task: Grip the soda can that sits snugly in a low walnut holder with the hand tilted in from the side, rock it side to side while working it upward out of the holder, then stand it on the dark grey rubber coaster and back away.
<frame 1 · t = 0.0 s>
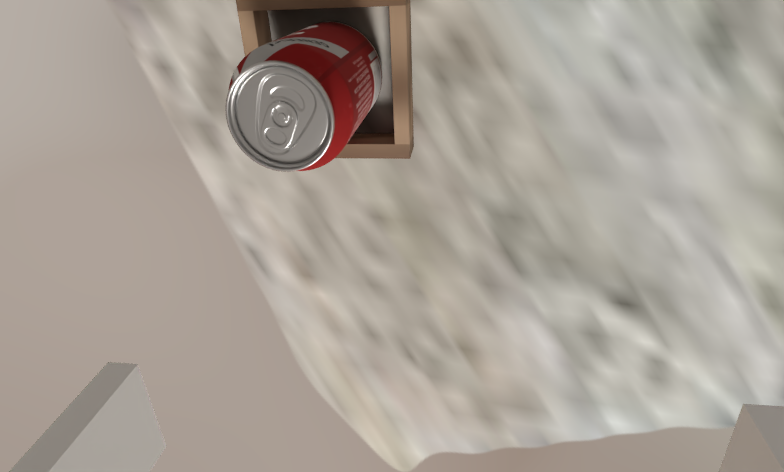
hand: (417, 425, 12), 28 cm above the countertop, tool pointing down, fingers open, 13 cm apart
soda can: (336, 72, 36), resting in holder
holder: (335, 72, 36), on the countertop
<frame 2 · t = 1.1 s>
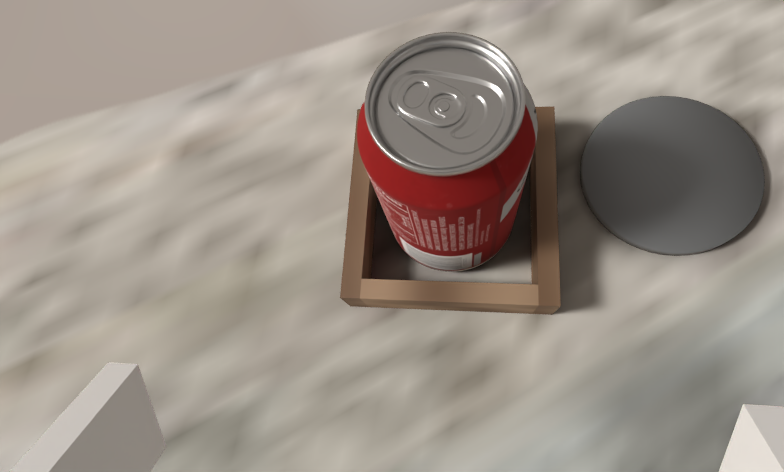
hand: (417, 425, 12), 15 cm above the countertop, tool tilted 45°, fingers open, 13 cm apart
coaster: (666, 175, 28), on the countertop
soda can: (451, 217, 29), resting in holder
holder: (451, 215, 29), on the countertop
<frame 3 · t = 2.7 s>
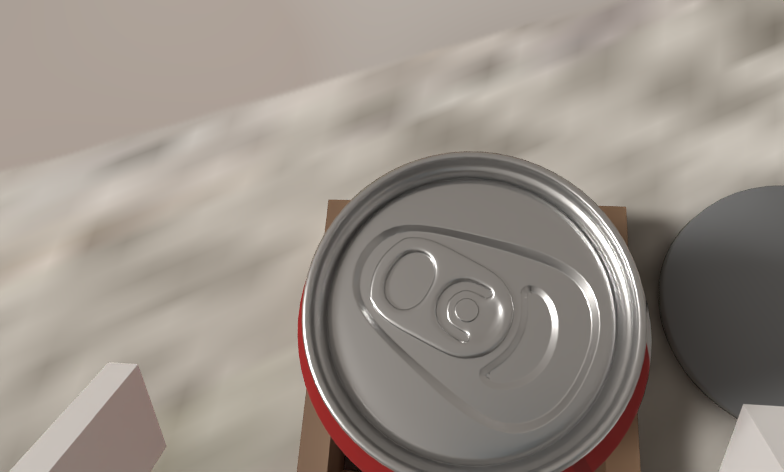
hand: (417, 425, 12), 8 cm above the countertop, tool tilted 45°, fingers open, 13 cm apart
soda can: (465, 358, 20), resting in holder
holder: (465, 358, 20), on the countertop
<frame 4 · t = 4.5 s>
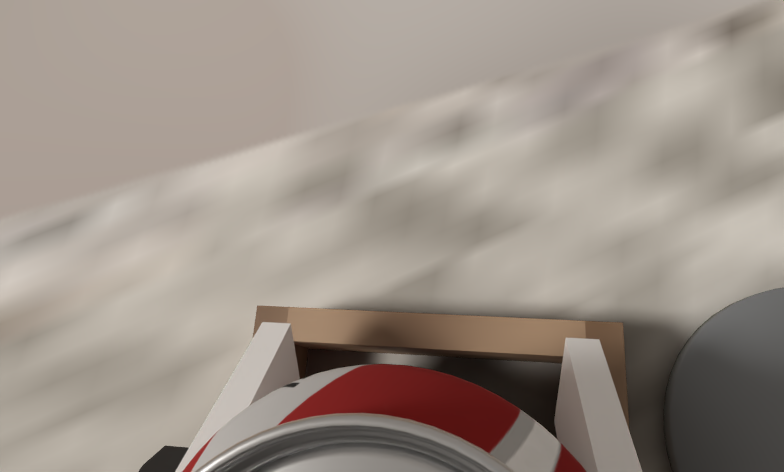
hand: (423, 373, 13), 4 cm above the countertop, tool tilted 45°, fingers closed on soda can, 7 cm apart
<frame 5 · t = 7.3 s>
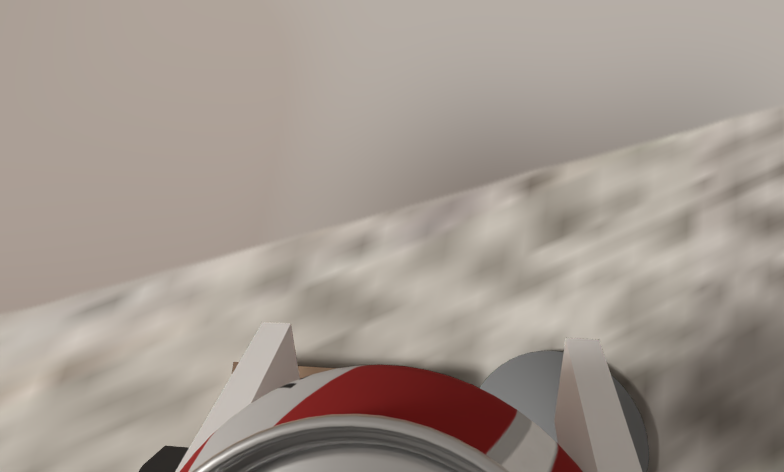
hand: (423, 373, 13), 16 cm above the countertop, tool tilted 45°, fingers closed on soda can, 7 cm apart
coaster: (553, 440, 27), on the countertop
when the fingers open (6 cm above the countertop, at t = 10.1 s): soda can drops 1 cm, resting on coaster.
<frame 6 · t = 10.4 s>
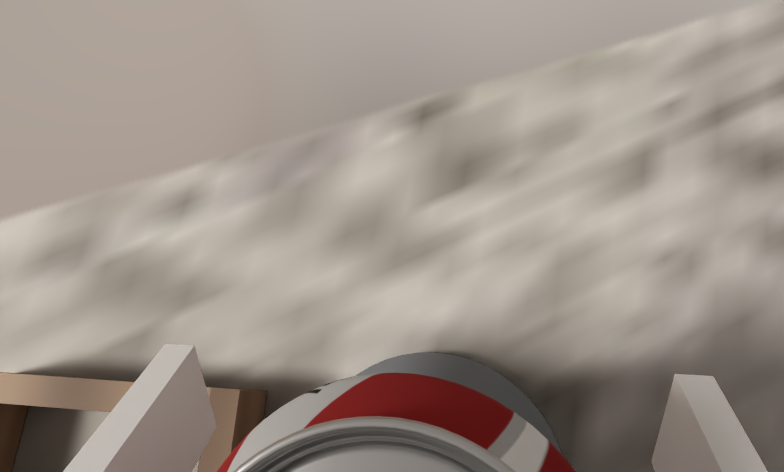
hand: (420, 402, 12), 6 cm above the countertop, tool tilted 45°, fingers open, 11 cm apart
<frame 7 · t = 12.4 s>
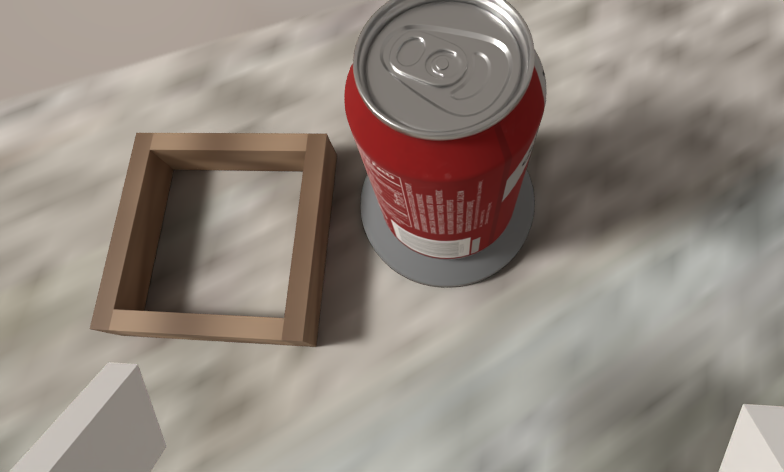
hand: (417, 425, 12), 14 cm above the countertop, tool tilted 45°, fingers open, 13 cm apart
coaster: (446, 204, 28), on the countertop
soda can: (447, 202, 27), resting on coaster
holder: (232, 242, 29), on the countertop
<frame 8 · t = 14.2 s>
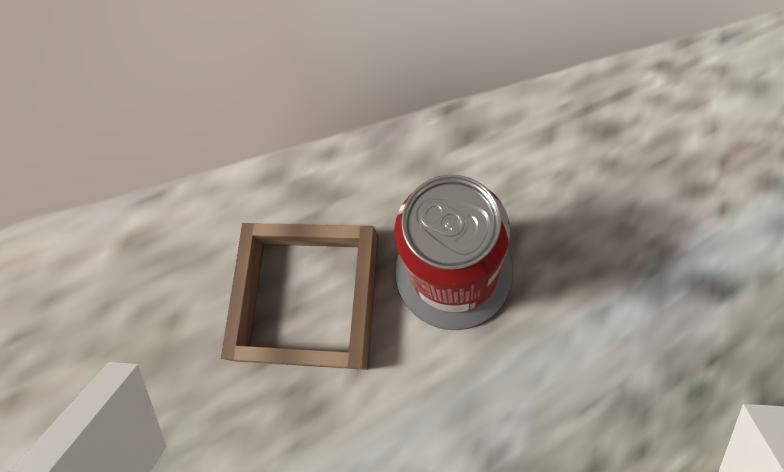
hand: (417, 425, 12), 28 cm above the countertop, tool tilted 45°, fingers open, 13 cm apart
coaster: (453, 271, 41), on the countertop
soda can: (454, 271, 41), resting on coaster
holder: (307, 297, 42), on the countertop
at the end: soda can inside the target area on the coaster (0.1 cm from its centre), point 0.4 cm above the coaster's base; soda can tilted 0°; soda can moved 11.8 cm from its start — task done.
